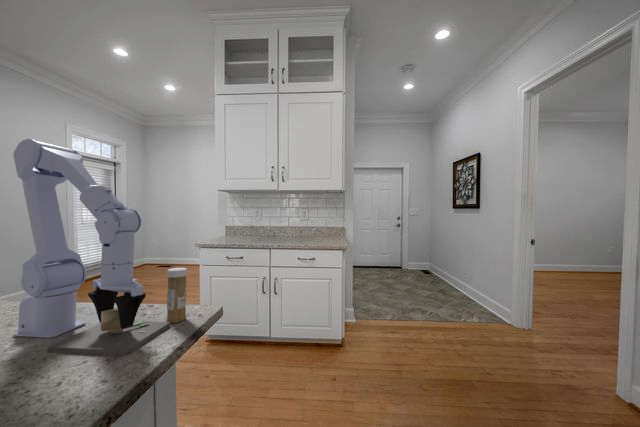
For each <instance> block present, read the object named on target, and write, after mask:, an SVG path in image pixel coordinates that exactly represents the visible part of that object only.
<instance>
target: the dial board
mask: <svg viewBox="0 0 640 427" xmlns="http://www.w3.org/2000/svg"><path fill="white" fill-rule="evenodd" d="M144 321H145V320H134V323H133V324H136V323H140V322H144ZM170 327H171V323H170V322H167V321H150V320H149V323H146V324H142V325H138V326H134V327H131V328H127V329H123V331H122V332H121V333H118V334H108V331H105V332H102V331H101V323H100V322H99V323H98V324H96V325H94V326H91V327H89V328H88V329H85V330H82V331H80V332H78V333H75V334H74V335H73V334H72V335H71V336H69V337H67V338H64V339H62V340H60V341H58V342H55V343H53V344H51V345H48V346H47V352H48V353H63V354H80V355H97V356H98V355H101V356H116V357H117V356H118V357H125V356H126V355H128V354H130V353H131V352H133V351H135V350H136V349H138V348H139V347H140V346H142V345H144V344H146V342H149V341H150V340H151V339H153V338H155V337H157V336H158V335H159V334H161V333H162V332H164V331H165V330H167V329H168V328H170Z"/></svg>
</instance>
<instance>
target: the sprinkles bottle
mask: <svg viewBox="0 0 640 427" xmlns="http://www.w3.org/2000/svg"><path fill="white" fill-rule="evenodd" d="M166 276H167V289H166V290H167V294H166V295H167V297H166V298H167V299H166V301H167V303H166V308H167V313H166V314H167V315H166V316H167V318H166V322H170V324H173V323H175V324H176V323H180V322H183V321H184V320H185V319H187V316H186V306H187V276H188V268H186V267H173V268H168V269H167V273H166Z"/></svg>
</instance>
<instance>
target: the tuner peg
mask: <svg viewBox="0 0 640 427" xmlns="http://www.w3.org/2000/svg"><path fill="white" fill-rule="evenodd" d="M143 321H144V322H140V323H136V324H133V326H131V327H134V326H138V325H142V324H146V323H149V321H150V319H149V320H143ZM131 327H128V328H131ZM125 329H127V328H125ZM101 331H102V332H105V331H108V334H118V333H121V332H122V331H123V329H121V327H120V320H119V312H118V308H117V307H114V309H110V310H105V311H101Z"/></svg>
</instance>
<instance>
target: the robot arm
mask: <svg viewBox="0 0 640 427" xmlns="http://www.w3.org/2000/svg"><path fill="white" fill-rule="evenodd" d="M12 155H13V160H14V164H15V170H16V174H17V177H18V178H19V179H20V180H21V181H22V188H23V193H24V199H25V203H26V208H27V212H28V214H27V215H28V218H29V223H30V229H31V233H32V238H33V243H34V249H35V254H34V255H33V256H30V258H28V259H27V260H26V261H25V262H24V263H22V264H21V265H22V266H21V267H22V275H21V280H20V283H21V288H22V289H23V291H24V292H25V293H26V294H27V295H25V297H23V298H22V300H21V301H20V303H19V306H18V323H17V324H18V326H17V330H18V331H17V332H15V333H13V337H25V338H26V337H27V338H47V339H52V338H55V337H57V336H60V335H63V334H64V333H68V332H69V331H72V330H75V329H78V328H79V327H81V326H84V325H86V321H78V320H77V319H76V318H77V315H76V314H77V290H79V289H81V285H83V283H85V281H86V280H87V275H88V271H87V267H86V265H85V264H84V263H83V261H82V258H81V254H80V253H77V252H75V251H73V250H71V249H69V247H68V243H67V238H66V234H65V230H64V224H63V223H64V222H63V219H62V215H61V210H60V205H59V199H58V195H57V190H56V186H58V185H60V184H64V183H65V182H66V181H69V183H71V185H73V187H75V188H76V189H77V190H78V192H80V194H79V200H80V202H81V203H82V204H83V205H84V207H85V208H86V209H87V210H88V212H90V213H91V215H92V216H93V217H94V218H95V219H96V220H95V221H94V228H95V230H96V232H97V233H98V241H99V242H100V244H101V264H100V278H96V279H93V281H92V289H94V291H93V290H92V291H89V292H88V293H87V296H88V297H89V298H90V300H91V301H92V304H93V305H94V308H95V310H96V315H97V318H98V320H99V321H98V322H99V324H100V323H101V311H105V310H110V309H115V305H116V308H118V312H119V320H120V327H121V329H125V328H128V327H131V326H133V323H134V321H136V320H135V319H136V315H137V314H138V310H139V308H140V306H141V304H142V303H143V301H144V299H145V298H146V295H147V293H146V292H144V285H143V284H140V283H139V282H138V280H139V279H138V278H134V262H135V259H134V256H135V233H137V232H138V231H139V230H140V228H141V227H142V226H141V225H142V218H141V215H140V214H139V212H138V211H137V210H136V209H133V208H129V207H127V206H125V205H124V203H123V202H121V200H119V199H118V198H117V196H115V194H114V193H113V190H112V188H111V187H109V186H105V185H101V184H98V183H97V182H96V181H95V180H94V178H93V176H92V175H91V174H90V172H89V171H88V169H87V168H86V167H85V166H84V157H83V156H82V155H80V153H79V152H78V150H77V149H74V148H70V147H68V148H67V147H63V146H59V145H55V144H51V143H46V142H42V141H37V140H35V139H32V138H25V139H23V140H21V141H20V142H19V143H18V144H17V145H16V148H15V149H14V151H13V154H12ZM119 293H122V294H123V295H118V294H119Z"/></svg>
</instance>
